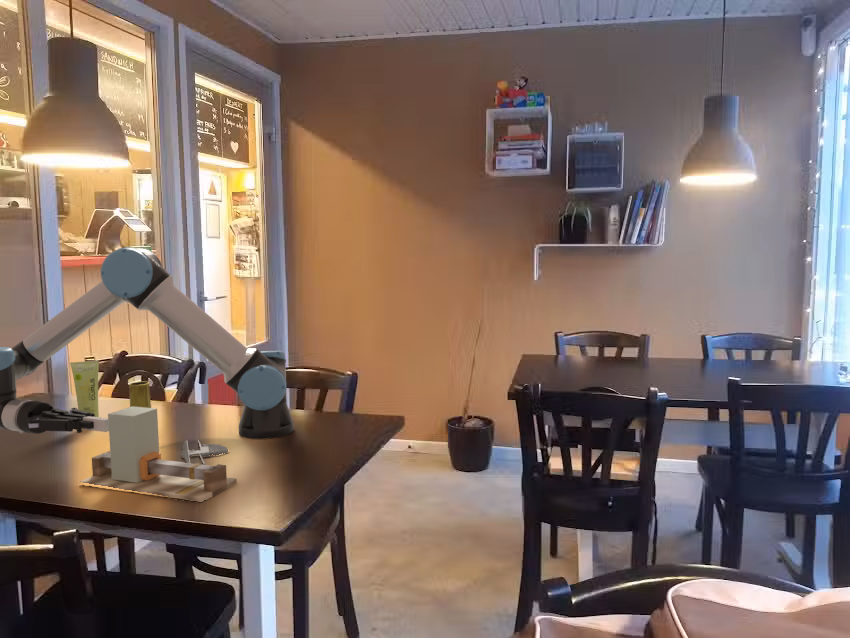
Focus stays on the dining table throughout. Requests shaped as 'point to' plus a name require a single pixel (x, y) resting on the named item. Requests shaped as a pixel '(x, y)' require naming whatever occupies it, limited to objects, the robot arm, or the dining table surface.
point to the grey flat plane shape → (203, 451)
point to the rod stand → (167, 478)
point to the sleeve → (133, 443)
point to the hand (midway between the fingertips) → (108, 425)
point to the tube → (86, 385)
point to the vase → (140, 394)
